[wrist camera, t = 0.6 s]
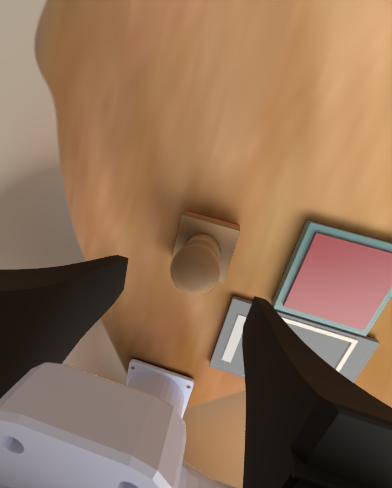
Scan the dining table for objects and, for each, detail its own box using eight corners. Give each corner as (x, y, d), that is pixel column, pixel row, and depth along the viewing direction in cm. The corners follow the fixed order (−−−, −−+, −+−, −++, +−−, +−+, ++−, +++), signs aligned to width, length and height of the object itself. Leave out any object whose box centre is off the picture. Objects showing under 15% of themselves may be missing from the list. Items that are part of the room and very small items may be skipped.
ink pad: (359, 328, 21) (367, 338, 19) (271, 302, 21) (273, 310, 20) (409, 247, 18) (422, 252, 17) (306, 219, 19) (311, 223, 17)
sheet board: (334, 402, 24) (336, 409, 23) (209, 361, 25) (209, 366, 24) (376, 338, 21) (380, 344, 20) (232, 295, 22) (232, 299, 21)
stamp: (224, 273, 21) (219, 325, 14) (175, 258, 22) (145, 302, 14) (239, 225, 20) (243, 255, 12) (186, 210, 20) (159, 231, 13)
